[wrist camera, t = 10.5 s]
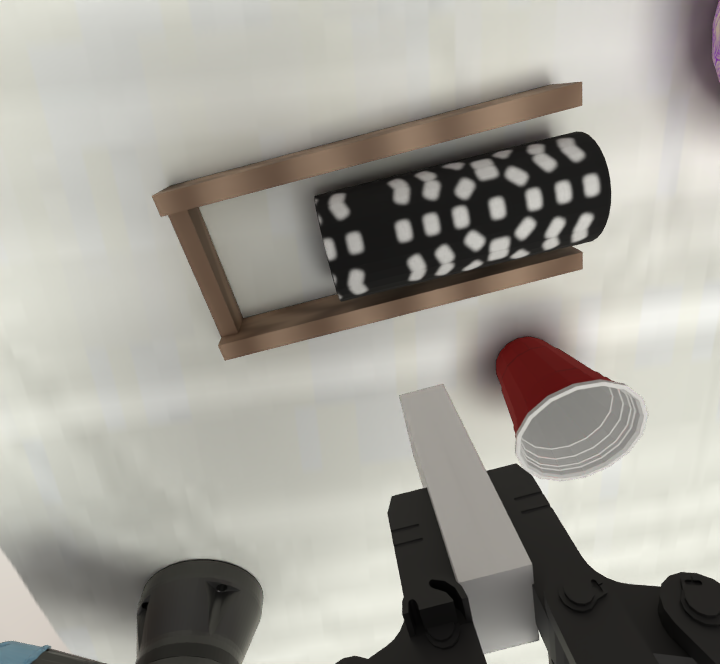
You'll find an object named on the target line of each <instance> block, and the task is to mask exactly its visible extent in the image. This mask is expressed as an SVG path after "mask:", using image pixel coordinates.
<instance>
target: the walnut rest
mask: <svg viewBox="0 0 720 664" xmlns="http://www.w3.org/2000/svg"><path fill="white" fill-rule="evenodd" d="M578 106H582V82H574V83H563V84H552V85H548V86H544V87H540V88H536V89H533V90H529V91H525V92H521V93H518V94H514V95H510V96H506V97H502V98H499V99H495V100H491V101H487V102H484V103H480V104H476V105H472V106H469V107H465V108H461V109H457V110H454V111H450V112H446V113H442V114H439V115H435V116H431V117H427V118H423V119H420V120H416V121H412V122H408V123H405V124H401V125H397V126H393V127H390V128H386V129H382V130H378V131H375V132H371V133H367V134H363V135H360V136H356V137H352V138H348V139H344V140H341V141H337V142H333V143H329V144H326V145H322V146H318V147H314V148H311V149H307V150H303V151H299V152H296V153H292V154H288V155H284V156H281V157H277V158H273V159H269V160H265V161H262V162H258V163H254V164H250V165H247V166H243V167H239V168H235V169H232V170H228V171H224V172H220V173H217V174H213V175H209V176H205V177H201V178H198V179H194V180H190V181H186V182H183V183H179V184H175V185H171V186H169V187H167V188H165V189H163V190H162V191H160V192H158V193H156V194H154V195H153V196H152V198H153V200H154V202H155V205H156V207H157V209H158V211H159V214H160V216H161V217H162V216H166V215H168V216H169V218H170V220H171V223H172V225H173V227H174V230H175V232H176V234H177V237H178V239H179V241H180V243H181V246H182V248H183V250H184V253H185V255H186V257H187V259H188V262H189V264H190V266H191V269H192V271H193V273H194V276H195V278H196V280H197V282H198V285H199V287H200V289H201V292H202V294H203V296H204V298H205V301H206V303H207V305H208V308H209V310H210V312H211V315H212V317H213V319H214V321H215V324H216V326H217V328H218V331H219V333H220V335H221V340H220V342H219V345H218V346H219V349H220V351H221V353H222V355H223V358H224V360H229V359H233V358H237V357H241V356H245V355H249V354H253V353H256V352H260V351H264V350H268V349H272V348H276V347H280V346H284V345H288V344H292V343H296V342H299V341H303V340H307V339H311V338H315V337H319V336H323V335H327V334H331V333H335V332H338V331H342V330H346V329H350V328H354V327H358V326H362V325H366V324H370V323H374V322H378V321H381V320H385V319H389V318H393V317H397V316H401V315H405V314H409V313H413V312H417V311H420V310H424V309H428V308H432V307H436V306H440V305H444V304H448V303H452V302H456V301H460V300H463V299H467V298H471V297H475V296H479V295H483V294H487V293H491V292H495V291H499V290H503V289H506V288H510V287H514V286H518V285H522V284H526V283H530V282H534V281H538V280H542V279H545V278H549V277H553V276H557V275H561V274H565V273H569V272H573V271H577V270H581V269H583V252H581V251H580V250H578V249H576V248H574V247H572V246H570V247H566V248H562V249H557V250H553V251H549V252H545V253H541V254H537V255H533V256H528V257H524V258H520V259H516V260H512V261H508V262H504V263H500V264H495V265H491V266H487V267H483V268H479V269H475V270H471V271H466V272H462V273H458V274H454V275H450V276H446V277H442V278H438V279H433V280H429V281H425V282H421V283H417V284H413V285H409V286H404V287H400V288H396V289H392V290H388V291H384V292H380V293H376V294H371V295H367V296H363V297H359V298H355V299H351V300H347V301H342V302H341V301H340V299H339V297H338V294H336V295H332V296H328V297H324V298H320V299H316V300H312V301H309V302H305V303H301V304H297V305H293V306H289V307H285V308H281V309H278V310H274V311H270V312H266V313H262V314H258V315H254V316H250V317H247V318H243V317H242V315H241V312H240V310H239V307H238V305H237V302H236V300H235V297H234V295H233V292H232V290H231V287H230V285H229V282H228V280H227V277H226V275H225V272H224V270H223V267H222V265H221V262H220V260H219V257H218V255H217V252H216V250H215V247H214V245H213V242H212V240H211V237H210V235H209V232H208V230H207V227H206V225H205V222H204V220H203V217H202V215H201V212H200V210H199V207H200V206H204V205H208V204H211V203H215V202H219V201H223V200H226V199H230V198H234V197H238V196H242V195H245V194H249V193H253V192H257V191H260V190H264V189H268V188H272V187H276V186H279V185H283V184H287V183H291V182H295V181H298V180H302V179H306V178H310V177H313V176H317V175H321V174H325V173H329V172H332V171H336V170H340V169H344V168H348V167H351V166H355V165H359V164H363V163H366V162H370V161H374V160H378V159H382V158H385V157H389V156H393V155H397V154H400V153H404V152H408V151H412V150H416V149H419V148H423V147H427V146H431V145H435V144H438V143H442V142H446V141H450V140H453V139H457V138H461V137H465V136H469V135H472V134H476V133H480V132H484V131H488V130H491V129H495V128H499V127H503V126H506V125H510V124H514V123H518V122H522V121H525V120H529V119H533V118H537V117H540V116H544V115H548V114H552V113H556V112H559V111H563V110H567V109H571V108H575V107H578Z"/></svg>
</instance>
